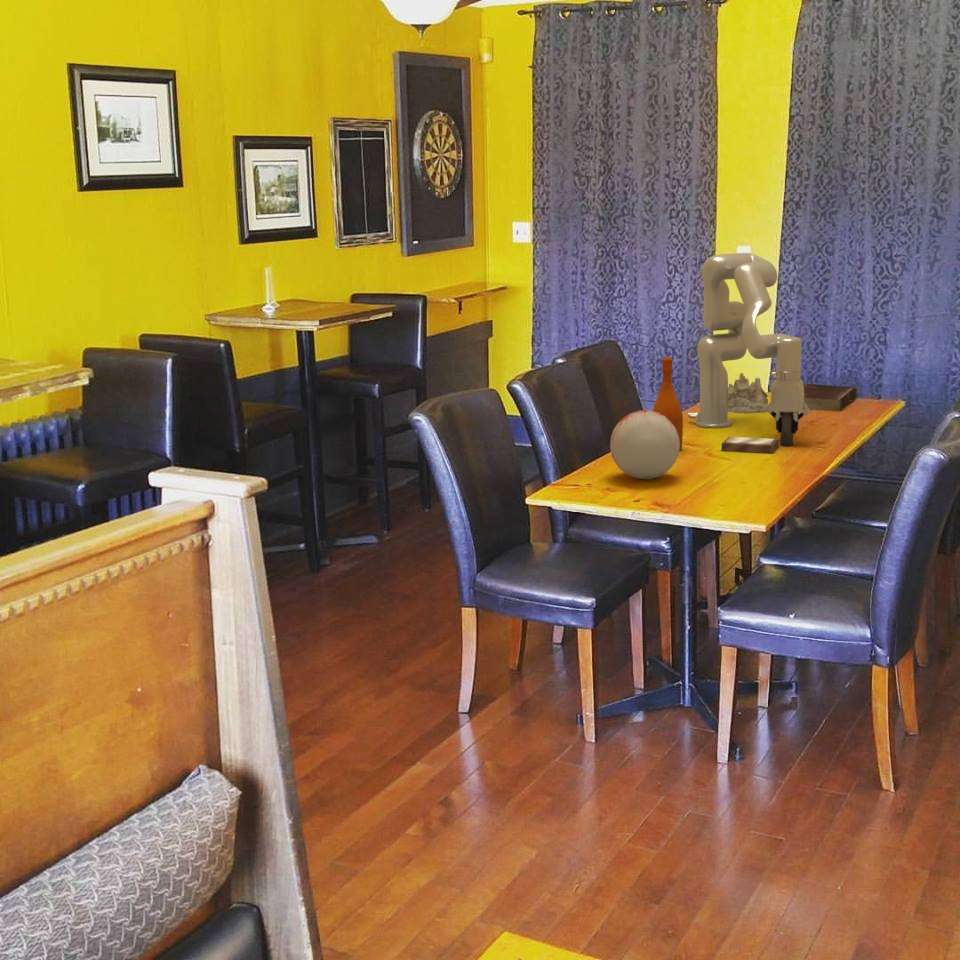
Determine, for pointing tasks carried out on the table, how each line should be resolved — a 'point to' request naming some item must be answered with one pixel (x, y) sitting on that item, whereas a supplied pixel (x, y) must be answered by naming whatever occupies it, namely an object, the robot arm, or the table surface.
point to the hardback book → (828, 397)
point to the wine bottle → (669, 399)
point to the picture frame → (750, 445)
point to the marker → (786, 429)
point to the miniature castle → (746, 396)
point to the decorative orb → (644, 444)
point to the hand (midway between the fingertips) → (786, 432)
